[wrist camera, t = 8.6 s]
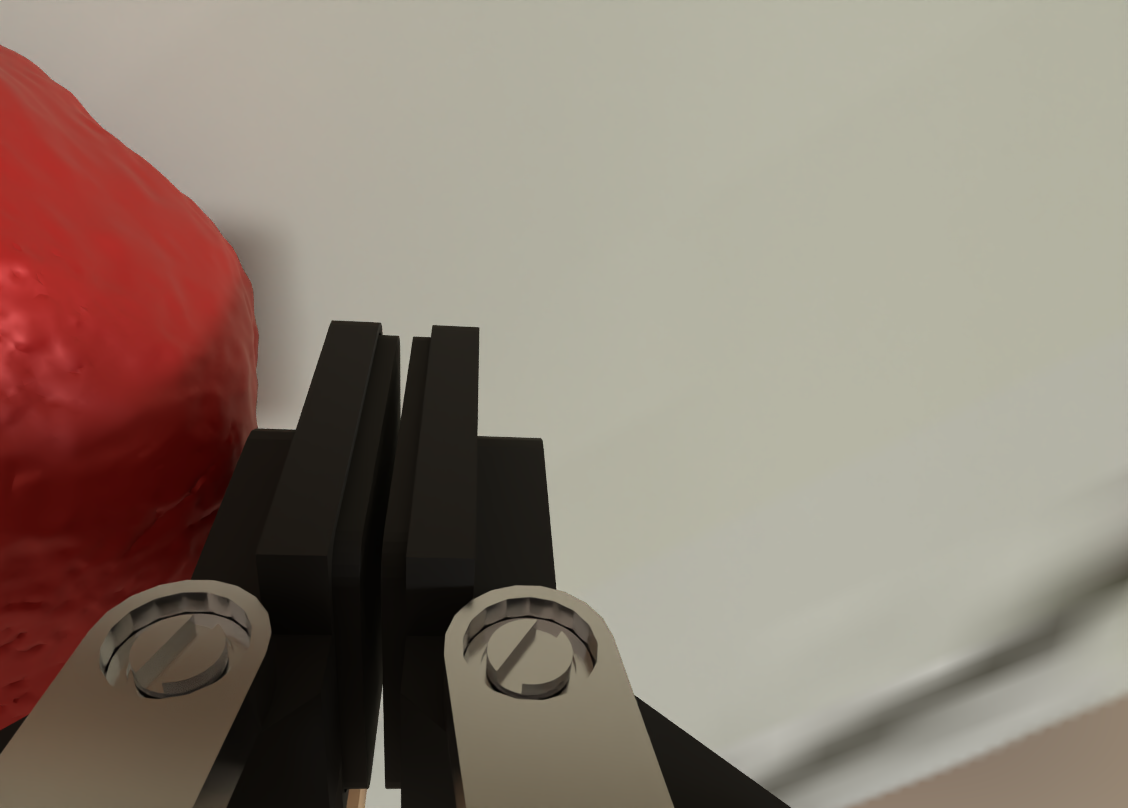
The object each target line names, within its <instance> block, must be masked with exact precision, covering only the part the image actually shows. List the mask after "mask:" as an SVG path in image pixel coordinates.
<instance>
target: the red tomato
mask: <svg viewBox="0 0 1128 808" xmlns="http://www.w3.org/2000/svg"><path fill="white" fill-rule="evenodd" d="M258 339H259V334H258V328H257V325H256V320H255V316H254V297H253V288H252V284H251V282H250V280H249V278H248V277H247V275H246V273H245V272H244V270H243V268H242V266H241V264H240V261H239V259H238V257H237V255H236V253H235V251H234V249H233V248H232V246H231V245H230V244H229V243H228V242H227V240H226V239H225V238H224V237H223V236H222V235H221V233H220V232H219V230H218V228H217V227H216V226H215V224H214V223H213V222H212V221H211V220H210V219H209V218H208V217H207V215H206V214H205V213H204V212H203V211H202V210H201V209H200V208H199V207H198V206H197V205H196V204H195V202H193V201H192V200H191V199H190V198H189V197H187V196H186V195H184V194H183V193H181V192H180V191H179V190H178V189H177V188H176V187H175V186H174V185H173V184H172V183H171V182H170V181H169V180H168V179H167V178H166V177H164V176H163V175H162V174H161V173H160V172H159V171H158V170H157V169H155V168H154V167H153V166H152V165H151V164H150V163H149V162H147V161H146V160H145V159H143V158H142V157H141V156H139V155H138V154H136V153H135V152H133V151H132V150H130V149H129V148H128V147H126V146H125V145H124V144H123V143H122V142H120V141H119V140H118V139H117V138H115V137H114V136H113V135H111V134H110V133H109V132H107V131H106V130H105V129H103V128H102V127H101V126H100V125H99V124H98V123H97V122H96V121H95V120H94V119H93V118H92V117H91V116H90V114H89V113H88V112H87V111H86V110H85V108H84V107H83V106H82V105H81V103H80V102H79V101H78V100H77V99H76V97H75V96H74V95H73V94H72V93H71V92H70V91H68V90H67V89H65V88H64V87H62V86H61V85H59V84H57V83H56V82H55V81H53V80H52V79H50V78H49V77H48V76H47V75H46V74H45V73H44V72H43V71H42V70H41V69H40V68H39V67H38V66H36V65H35V64H34V63H33V62H31V61H30V60H28V59H27V58H25V57H23V56H22V55H20V54H18V53H16V52H14V51H12V50H10V49H8V48H5V47H3V46H1V45H0V730H2V729H3V728H5V727H7V726H9V725H11V724H12V723H14V722H16V721H18V720H20V719H21V718H23V717H25V716H27V715H29V714H30V712H31V711H32V709H33V708H34V707H35V705H36V704H37V702H38V701H39V700H40V698H41V697H42V695H43V694H44V693H45V691H46V690H47V689H48V687H49V686H50V684H51V683H52V682H53V680H54V679H55V677H56V676H57V675H58V673H59V672H60V670H61V669H62V668H63V666H64V665H65V663H66V662H67V661H68V659H69V658H70V656H71V655H72V654H73V652H74V651H75V649H76V648H77V647H78V645H79V644H80V643H81V641H82V640H83V638H84V637H85V636H86V634H87V633H88V631H89V630H90V629H91V628H92V627H93V626H94V625H95V624H96V623H97V622H98V621H99V620H100V619H101V618H102V617H103V616H104V615H105V613H106V612H107V611H109V610H111V609H112V608H114V607H115V606H117V605H118V604H120V603H121V602H123V601H124V600H126V599H128V598H129V597H131V596H133V595H135V594H138V593H140V592H143V591H145V590H148V589H151V588H153V587H156V586H158V585H163V584H168V583H173V582H179V581H184V580H191V577H192V575H193V572H194V570H195V567H196V565H197V562H198V560H199V557H200V555H201V552H202V550H203V547H204V545H205V542H206V540H207V537H208V535H209V532H210V530H211V527H212V525H213V522H214V520H215V517H216V515H217V512H218V510H219V507H220V505H221V502H222V500H223V497H224V495H225V492H226V490H227V487H228V485H229V482H230V480H231V477H232V475H233V472H234V470H235V467H236V465H237V462H238V460H239V457H240V455H241V452H242V450H243V447H244V445H245V442H246V440H247V438H248V436H249V434H250V432H251V431H252V430H254V429H256V428H257V429H258V427H257V420H256V405H257V388H258V380H257V374H256V366H257V359H258Z"/></svg>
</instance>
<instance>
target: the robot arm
mask: <svg viewBox="0 0 1128 808" xmlns="http://www.w3.org/2000/svg"><path fill="white" fill-rule="evenodd" d="M478 373H479V327H459V326H438V325H433V326H432V333H431V337H413V341H412V348H411V355H410V362H409V368H408V375H407V382H406V388H405V395H404V402H403V408H402V415H401V418H400V338H399V336H389V335H383V333H382V325H381V323H374V322H353V321H331V323H330V326H329V329H328V332H327V335H326V339H325V342H324V345H323V348H322V351H321V354H320V357H319V360H318V363H317V366H316V369H315V372H314V376H313V379H312V382H311V385H310V388H309V391H308V394H307V397H306V400H305V403H304V406H303V409H302V412H301V416H300V419H299V422H298V425H297V428H296V430H286V429H257V428H256V429H254V430H252V431H251V432H250V434H249V436H248V438H247V440H246V442H245V445H244V447H243V450H242V452H241V455H240V457H239V460H238V462H237V465H236V467H235V470H234V472H233V475H232V477H231V480H230V482H229V485H228V487H227V490H226V492H225V495H224V497H223V500H222V502H221V505H220V507H219V510H218V512H217V515H216V517H215V520H214V522H213V525H212V527H211V530H210V532H209V535H208V537H207V540H206V542H205V545H204V547H203V550H202V552H201V555H200V557H199V560H198V562H197V565H196V567H195V570H194V572H193V575H192V577H191V580H184V581H179V582H173V583H168V584H163V585H158V586H156V587H153V588H151V589H148V590H145V591H143V592H140V593H138V594H135V595H133V596H131V597H129V598H128V599H126V600H124V601H123V602H121V603H120V604H118V605H117V606H115V607H114V608H112V609H111V610H109V611H107V612H106V613H105V615H104V616H103V617H102V618H101V619H100V620H99V621H98V622H97V623H96V624H95V625H94V626H93V627H92V628H91V629H90V630H89V631H88V633H87V634H86V636H85V637H84V638H83V640H82V641H81V643H80V644H79V645H78V647H77V648H76V649H75V651H74V652H73V654H72V655H71V656H70V658H69V659H68V661H67V662H66V663H65V665H64V666H63V668H62V669H61V670H60V672H59V673H58V675H57V676H56V677H55V679H54V680H53V682H52V683H51V684H50V686H49V687H48V689H47V690H46V691H45V693H44V694H43V695H42V697H41V698H40V700H39V701H38V702H37V704H36V705H35V707H34V708H33V709H32V711H31V712H30V714H29V715H27V716H25V717H23V718H21V719H20V720H18V721H16V722H14V723H12V724H11V725H9V726H7V727H5V728H3V729H2V730H0V808H346V807H347V800H348V793H349V789H368V788H369V785H370V780H371V773H372V765H373V757H374V749H375V741H376V733H377V725H378V717H379V709H380V701H381V693H382V685H383V712H384V757H385V788H386V789H401V808H791V807H789V806H788V805H787V804H785V803H784V802H782V801H781V800H780V799H778V798H777V797H775V796H774V795H773V794H771V793H770V792H769V791H767V790H766V789H764V788H763V787H762V786H760V785H759V784H757V783H756V782H755V781H753V780H752V779H750V778H749V777H748V776H746V775H745V774H744V773H742V772H741V771H739V770H738V769H737V768H735V767H734V766H732V765H731V764H730V763H728V762H727V761H725V760H724V759H723V758H721V757H720V756H718V755H717V754H716V753H714V752H713V751H712V750H710V749H709V748H707V747H706V746H705V745H703V744H702V743H700V742H699V741H698V740H696V739H695V738H693V737H692V736H691V735H689V734H688V733H686V732H685V731H684V730H682V729H681V728H680V727H678V726H677V725H675V724H674V723H673V722H671V721H670V720H668V719H667V718H666V717H664V716H663V715H661V714H660V713H659V712H657V711H656V710H654V709H653V708H652V707H650V706H649V705H648V704H646V703H645V702H643V701H642V700H641V699H639V698H638V697H636V696H635V695H634V693H633V690H632V688H631V685H630V682H629V679H628V676H627V673H626V671H625V668H624V665H623V662H622V659H621V657H620V654H619V651H618V648H617V645H616V642H615V640H614V637H613V635H612V633H611V632H610V630H609V628H608V626H607V625H606V623H605V621H604V619H603V618H602V617H601V616H600V615H599V614H598V613H597V612H596V611H594V610H593V609H592V608H591V607H590V606H589V605H588V604H587V603H585V602H583V601H581V600H579V599H578V598H576V597H574V596H572V595H570V594H568V593H566V592H563V591H559V590H556V580H555V569H554V558H553V547H552V536H551V525H550V514H549V503H548V492H547V481H546V470H545V459H544V448H543V441H542V439H541V438H517V437H488V436H477V429H478Z"/></svg>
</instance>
